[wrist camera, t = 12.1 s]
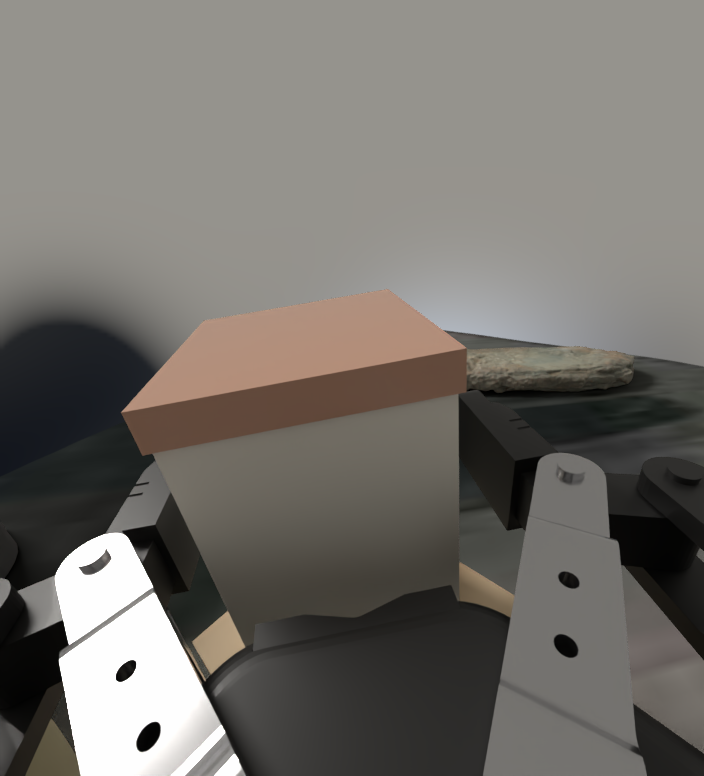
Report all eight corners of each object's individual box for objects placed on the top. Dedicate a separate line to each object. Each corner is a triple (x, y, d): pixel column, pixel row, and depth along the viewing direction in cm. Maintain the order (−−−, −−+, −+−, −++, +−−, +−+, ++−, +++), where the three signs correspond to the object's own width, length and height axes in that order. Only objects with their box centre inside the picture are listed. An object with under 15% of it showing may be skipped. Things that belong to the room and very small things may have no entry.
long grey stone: (651, 414, 34) (605, 375, 43) (669, 363, 32) (616, 332, 41) (303, 401, 41) (325, 369, 50) (298, 358, 39) (322, 332, 48)
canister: (285, 743, 10) (120, 412, 5) (288, 576, 15) (203, 320, 10) (464, 697, 11) (466, 348, 6) (411, 548, 15) (387, 289, 11)
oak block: (234, 718, 16) (191, 641, 13) (368, 573, 21) (357, 499, 19) (395, 991, 10) (377, 954, 7) (522, 694, 15) (539, 611, 13)
